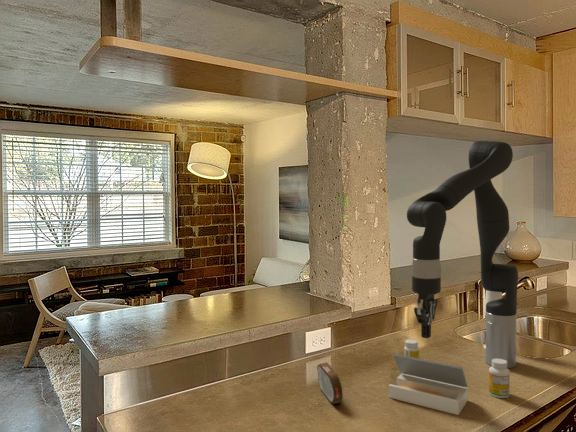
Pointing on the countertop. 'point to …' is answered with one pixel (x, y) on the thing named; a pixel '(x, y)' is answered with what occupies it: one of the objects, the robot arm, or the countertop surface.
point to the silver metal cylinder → (491, 299)
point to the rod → (424, 391)
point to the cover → (431, 370)
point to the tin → (329, 383)
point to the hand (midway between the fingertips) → (426, 337)
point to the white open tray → (448, 402)
